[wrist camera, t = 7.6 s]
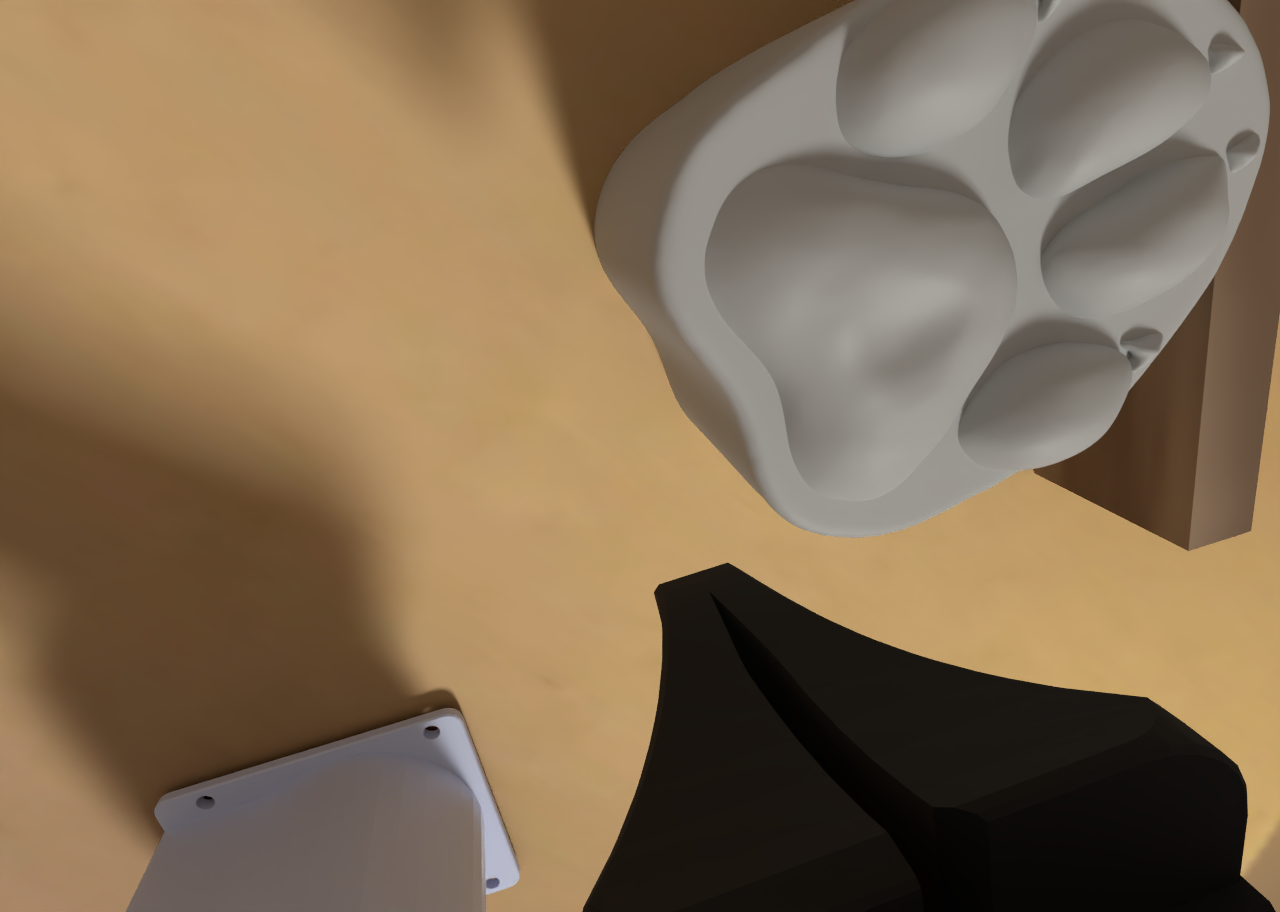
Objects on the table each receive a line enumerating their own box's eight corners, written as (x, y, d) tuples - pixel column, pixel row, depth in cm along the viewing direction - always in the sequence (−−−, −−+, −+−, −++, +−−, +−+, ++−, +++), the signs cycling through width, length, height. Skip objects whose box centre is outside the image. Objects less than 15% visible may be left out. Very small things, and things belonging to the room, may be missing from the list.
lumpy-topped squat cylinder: (550, 173, 19) (603, 163, 11) (973, -83, 19) (1328, -276, 11) (721, 481, 23) (849, 633, 15) (1069, 269, 23) (1380, 311, 15)
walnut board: (1034, 472, 26) (1188, 551, 20) (1036, -253, 18) (1283, -447, 13) (1084, 457, 26) (1250, 530, 20) (1108, -265, 18) (1381, -461, 13)
